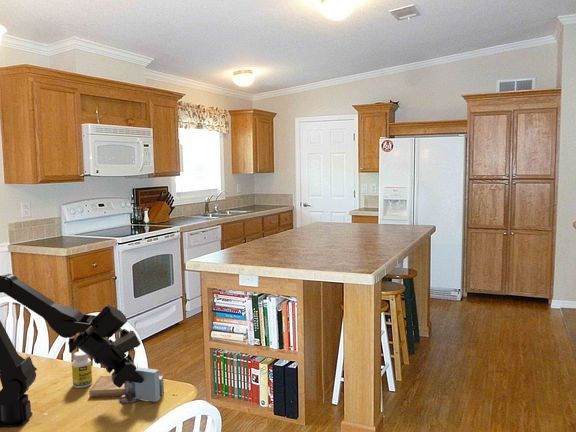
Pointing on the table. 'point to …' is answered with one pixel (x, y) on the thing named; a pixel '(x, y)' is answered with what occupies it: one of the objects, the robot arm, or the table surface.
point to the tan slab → (114, 390)
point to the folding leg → (148, 385)
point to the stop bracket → (161, 385)
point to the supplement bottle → (81, 370)
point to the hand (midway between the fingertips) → (142, 381)
